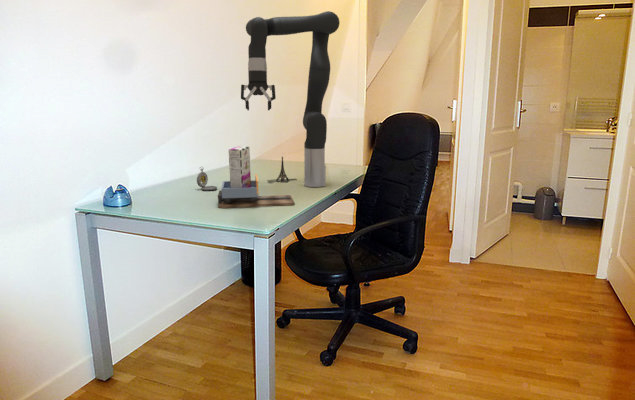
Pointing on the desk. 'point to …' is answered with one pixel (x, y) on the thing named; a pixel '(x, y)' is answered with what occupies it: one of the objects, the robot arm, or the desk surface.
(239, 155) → the candy bar box
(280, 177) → the eiffel tower figurine
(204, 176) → the pocket watch
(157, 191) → the desk surface
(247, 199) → the track
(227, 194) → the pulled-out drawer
